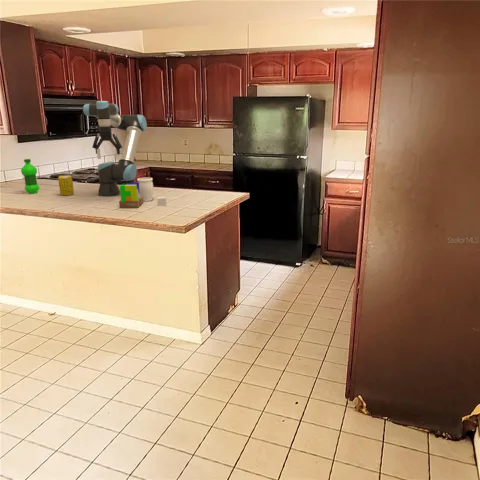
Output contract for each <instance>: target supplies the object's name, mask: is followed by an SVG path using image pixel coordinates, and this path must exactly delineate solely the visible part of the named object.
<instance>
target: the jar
mask: <svg viewBox="0 0 480 480" xmlns="http://www.w3.org/2000/svg"><path fill="white" fill-rule="evenodd" d="M153 180H154V179H153V177H149V176H147V177H139V178H137V180H136V181H137V183H139V191H140V197H143V202H150V201H151V202H152V201H153V200H154V199H153V195H154V182H153Z"/></svg>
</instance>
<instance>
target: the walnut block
mask: <svg viewBox="0 0 480 480" xmlns="http://www.w3.org/2000/svg"><path fill="white" fill-rule="evenodd" d="M142 204H143V205H144V201H143V197H140V198H139V199H138V200H137V201H121V199H120V200H119V201H118V205H119V209H140V207H141V206H142Z"/></svg>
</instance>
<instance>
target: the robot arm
mask: <svg viewBox="0 0 480 480" xmlns="http://www.w3.org/2000/svg"><path fill="white" fill-rule="evenodd" d="M82 111H83V114H84V115H85V116H88V117H94V118H96V119H97V122H98V123H97V124H98V131H99V133H95V135H94V136H95V137H94V140H93V144H92V149H95V154H96V156H97V160H101V157H102V156H101V151H100V150H101V149H100V147H101V145H102V144H103V142H105V141H106V142H110V143H111V145H113V147H114V148H115V157H116V158H115V159H116V160H117V161H118V162H117V163H115V162H114V161H107V162H106V161H105V162H102V163H99V164H98V165H97V173H98V178H99V179H98V180H99V188H98V196H100V197H114V196H118V195H120V187H119V186H118V183H117V181H123V182H124V181H126V182H128V181H129V182H130V181H133V180H135V178H136V176H137V173H138V171H137V170H138V169H137V166H136V165H135V164H136V163H135V157H136V153H137V149H138V144H139V140H140V136H142V135H143V133H144V132H146V130H147V128H148V127H147V126H148V123H147V119H146V117H145V116H144V115H143V114H119V112H120V111H119V107H118V105H117V104H115V103H109V101H108V100H97V101H96V102H95V103H86V104H84V105H83V108H82ZM112 127H114V129H115V128H116V129H118V130H121V131H126V132H127V135H126V139H125V142H124V146H122V144H121V141H120V140H119V138H118V137H117V133H113V132H112ZM120 149H123V151H122V156H121V158H120V154H121V150H120Z"/></svg>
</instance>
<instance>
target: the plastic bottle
mask: <svg viewBox="0 0 480 480" xmlns="http://www.w3.org/2000/svg"><path fill="white" fill-rule="evenodd" d="M23 162H24V163H25V164H24V166H22V167H21V169H20V172H21V174H22V175H23V178H24V183H25V186H24V190H25V191H26V192H27V193H28V194H32V195H33V194H37V193H38V192H39V190H40V186H39V184H38V182H37V176H36V175H37V173H38V169H37V167H36V166H34V165H33V164H32V163H31V162H32V161H31V158H25V159H23Z"/></svg>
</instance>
